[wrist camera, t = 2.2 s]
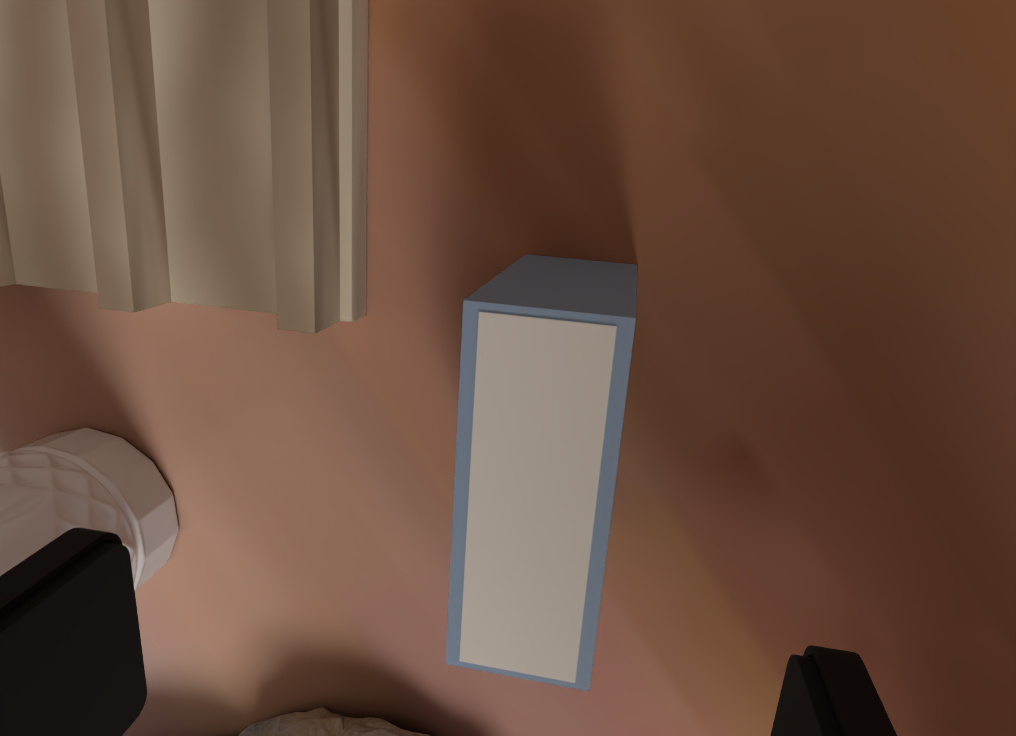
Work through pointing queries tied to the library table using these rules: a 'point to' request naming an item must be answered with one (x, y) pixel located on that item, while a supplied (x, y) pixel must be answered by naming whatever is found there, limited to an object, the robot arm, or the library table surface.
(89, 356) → the library table surface
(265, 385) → the library table surface
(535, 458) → the blue book
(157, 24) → the book rack
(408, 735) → the clay tablet
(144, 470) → the white cup
